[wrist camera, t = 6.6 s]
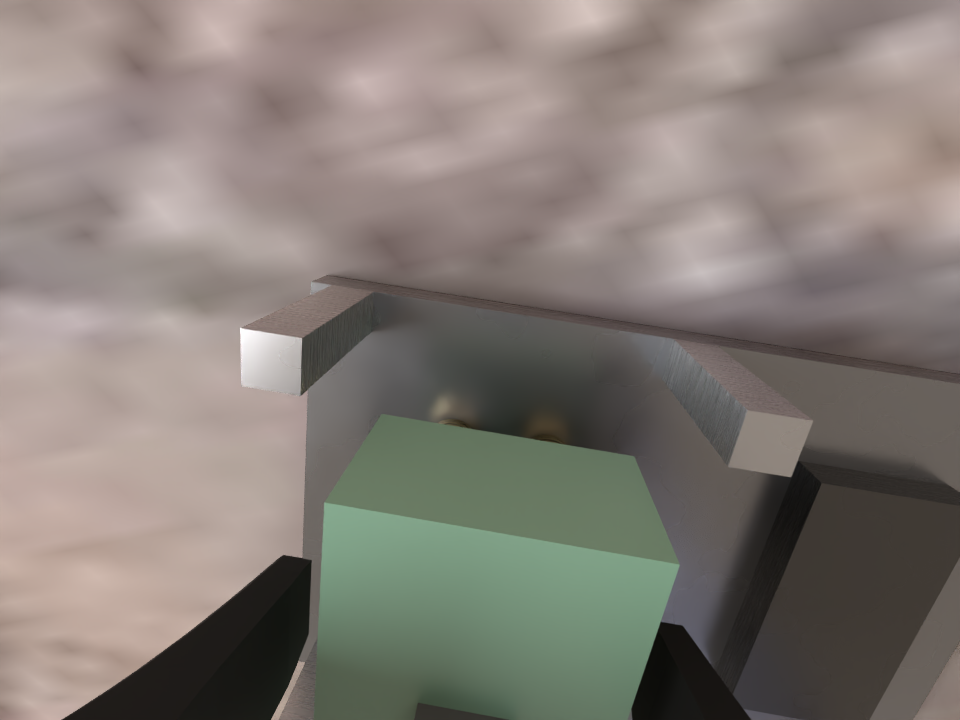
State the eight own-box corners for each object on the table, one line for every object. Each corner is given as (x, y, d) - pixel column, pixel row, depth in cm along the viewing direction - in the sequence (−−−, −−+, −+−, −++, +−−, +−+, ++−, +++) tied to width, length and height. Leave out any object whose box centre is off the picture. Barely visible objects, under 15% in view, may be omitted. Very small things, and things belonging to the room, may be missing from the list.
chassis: (1054, 389, 12) (1399, 515, 7) (862, 734, 16) (1005, 962, 11) (327, 275, 13) (210, 323, 8) (312, 634, 17) (227, 810, 12)
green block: (633, 456, 10) (688, 585, 6) (555, 740, 12) (567, 933, 9) (381, 413, 10) (312, 520, 7) (356, 703, 12) (297, 880, 9)
